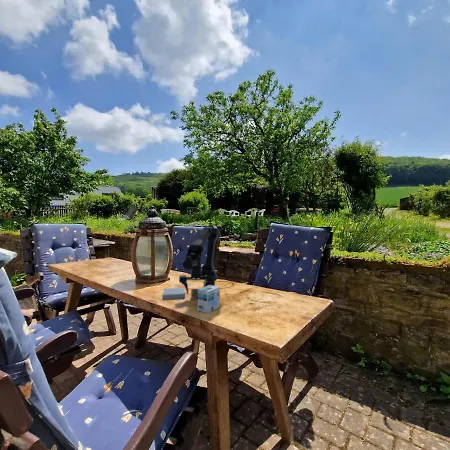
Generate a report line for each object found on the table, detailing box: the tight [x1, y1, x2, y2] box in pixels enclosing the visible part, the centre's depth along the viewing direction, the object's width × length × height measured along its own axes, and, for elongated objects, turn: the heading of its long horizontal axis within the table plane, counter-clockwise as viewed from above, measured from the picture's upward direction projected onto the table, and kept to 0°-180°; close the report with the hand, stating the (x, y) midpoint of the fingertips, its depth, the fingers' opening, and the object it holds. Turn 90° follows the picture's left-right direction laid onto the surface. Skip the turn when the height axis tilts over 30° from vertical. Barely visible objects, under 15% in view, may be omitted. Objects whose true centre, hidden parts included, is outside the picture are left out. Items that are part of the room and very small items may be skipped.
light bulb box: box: [197, 285, 221, 314], centre depth 131 cm, size 11×7×11 cm, turn 148°
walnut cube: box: [190, 288, 199, 301], centre depth 147 cm, size 5×5×5 cm
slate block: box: [162, 287, 186, 300], centre depth 152 cm, size 12×12×3 cm
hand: (196, 293), depth 147 cm, fingers open, 9 cm apart
